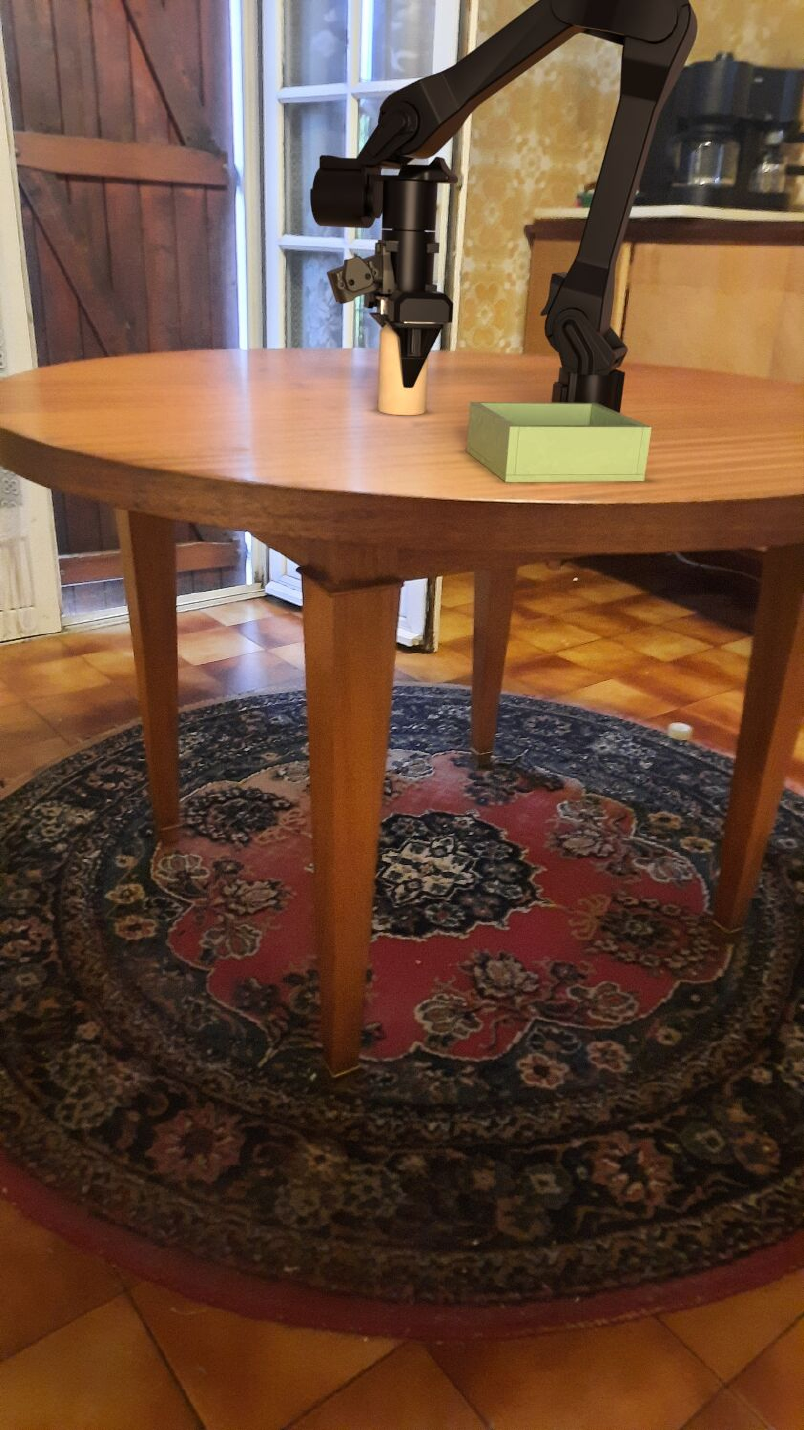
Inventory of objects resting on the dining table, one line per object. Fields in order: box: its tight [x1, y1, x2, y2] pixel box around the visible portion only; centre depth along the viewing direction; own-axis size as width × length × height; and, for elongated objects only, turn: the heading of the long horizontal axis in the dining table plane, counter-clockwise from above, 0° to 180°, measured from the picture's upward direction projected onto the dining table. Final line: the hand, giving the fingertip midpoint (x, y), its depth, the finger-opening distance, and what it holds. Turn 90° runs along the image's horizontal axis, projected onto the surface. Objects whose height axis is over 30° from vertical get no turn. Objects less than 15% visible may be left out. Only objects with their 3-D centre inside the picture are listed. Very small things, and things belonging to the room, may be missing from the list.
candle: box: [377, 324, 429, 416], centre depth 114 cm, size 6×6×10 cm
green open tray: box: [466, 401, 653, 483], centre depth 92 cm, size 13×13×5 cm
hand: (402, 383), depth 115 cm, fingers closed on candle, 5 cm apart
